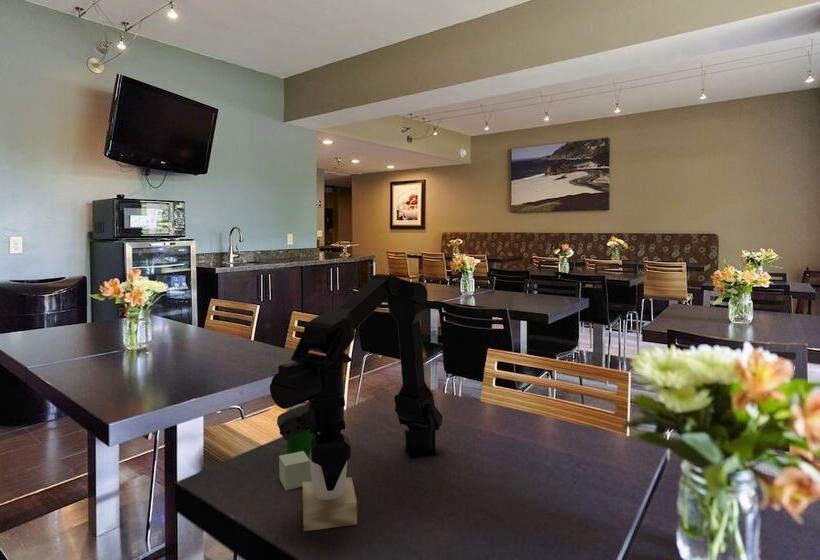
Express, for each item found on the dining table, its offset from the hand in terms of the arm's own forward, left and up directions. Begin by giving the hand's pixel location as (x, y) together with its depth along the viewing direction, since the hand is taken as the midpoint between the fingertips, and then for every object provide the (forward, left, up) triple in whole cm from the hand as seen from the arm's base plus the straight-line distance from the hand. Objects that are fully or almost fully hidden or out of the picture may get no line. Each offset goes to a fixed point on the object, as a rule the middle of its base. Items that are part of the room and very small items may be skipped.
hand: (328, 477), depth 88 cm
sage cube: (+6, -13, -7) cm, 16 cm away
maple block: (0, 0, -7) cm, 7 cm away
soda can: (+4, -23, -7) cm, 24 cm away
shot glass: (0, 0, -3) cm, 3 cm away
